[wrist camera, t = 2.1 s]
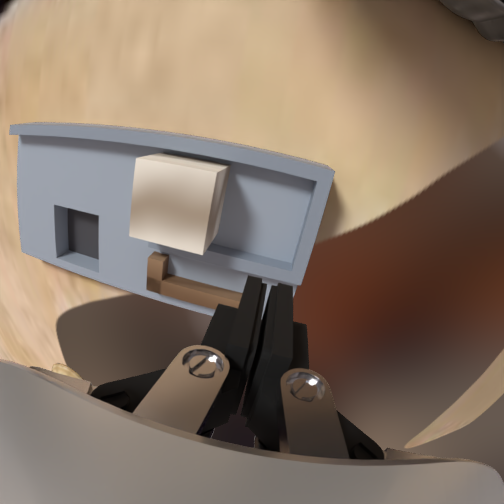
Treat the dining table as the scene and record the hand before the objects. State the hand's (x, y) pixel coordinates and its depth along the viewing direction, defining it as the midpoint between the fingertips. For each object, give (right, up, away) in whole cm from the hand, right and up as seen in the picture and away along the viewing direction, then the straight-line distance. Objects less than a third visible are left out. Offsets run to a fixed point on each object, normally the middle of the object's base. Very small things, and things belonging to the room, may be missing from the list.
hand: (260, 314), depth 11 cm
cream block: (-5, +7, +12) cm, 15 cm away
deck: (-11, +6, +15) cm, 20 cm away
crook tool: (-5, -1, +15) cm, 16 cm away
